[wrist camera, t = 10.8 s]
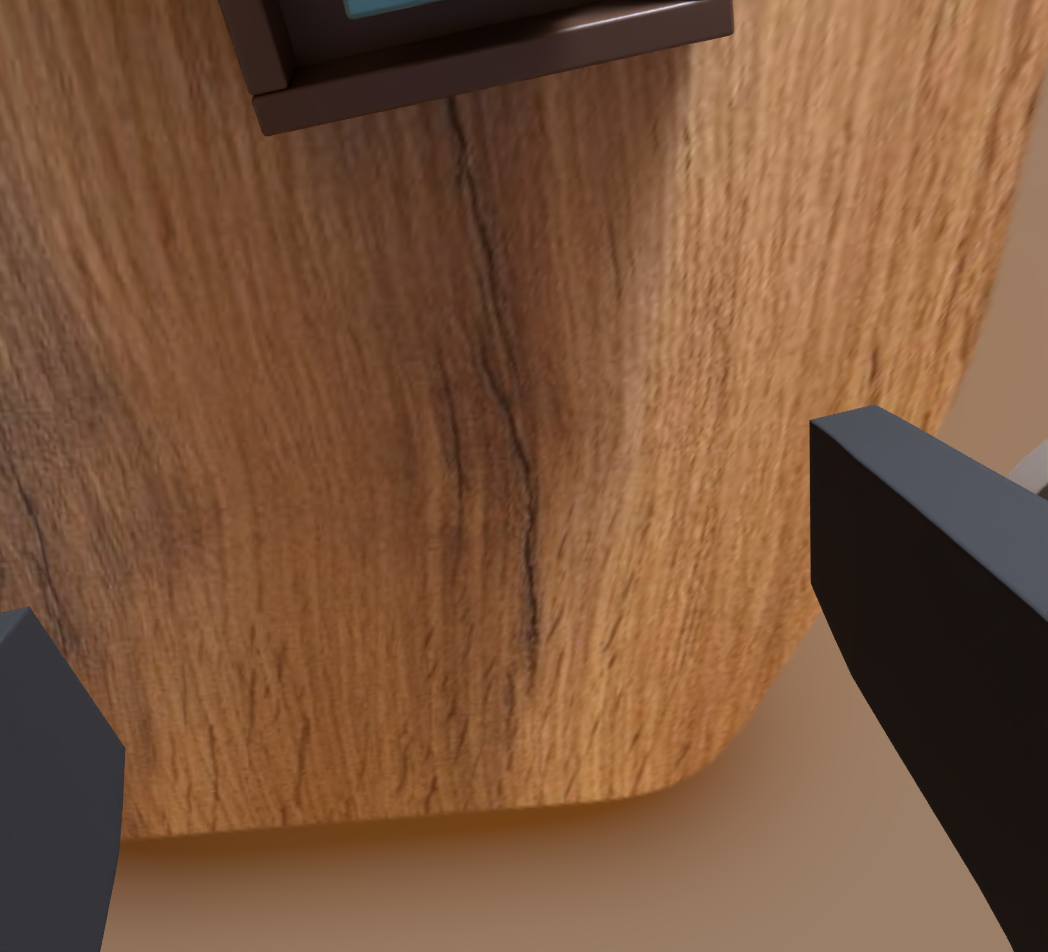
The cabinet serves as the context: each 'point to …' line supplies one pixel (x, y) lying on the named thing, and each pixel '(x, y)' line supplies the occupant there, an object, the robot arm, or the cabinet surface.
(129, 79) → the cabinet surface
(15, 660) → the robot arm
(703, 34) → the long brown tray
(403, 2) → the toy truck block
